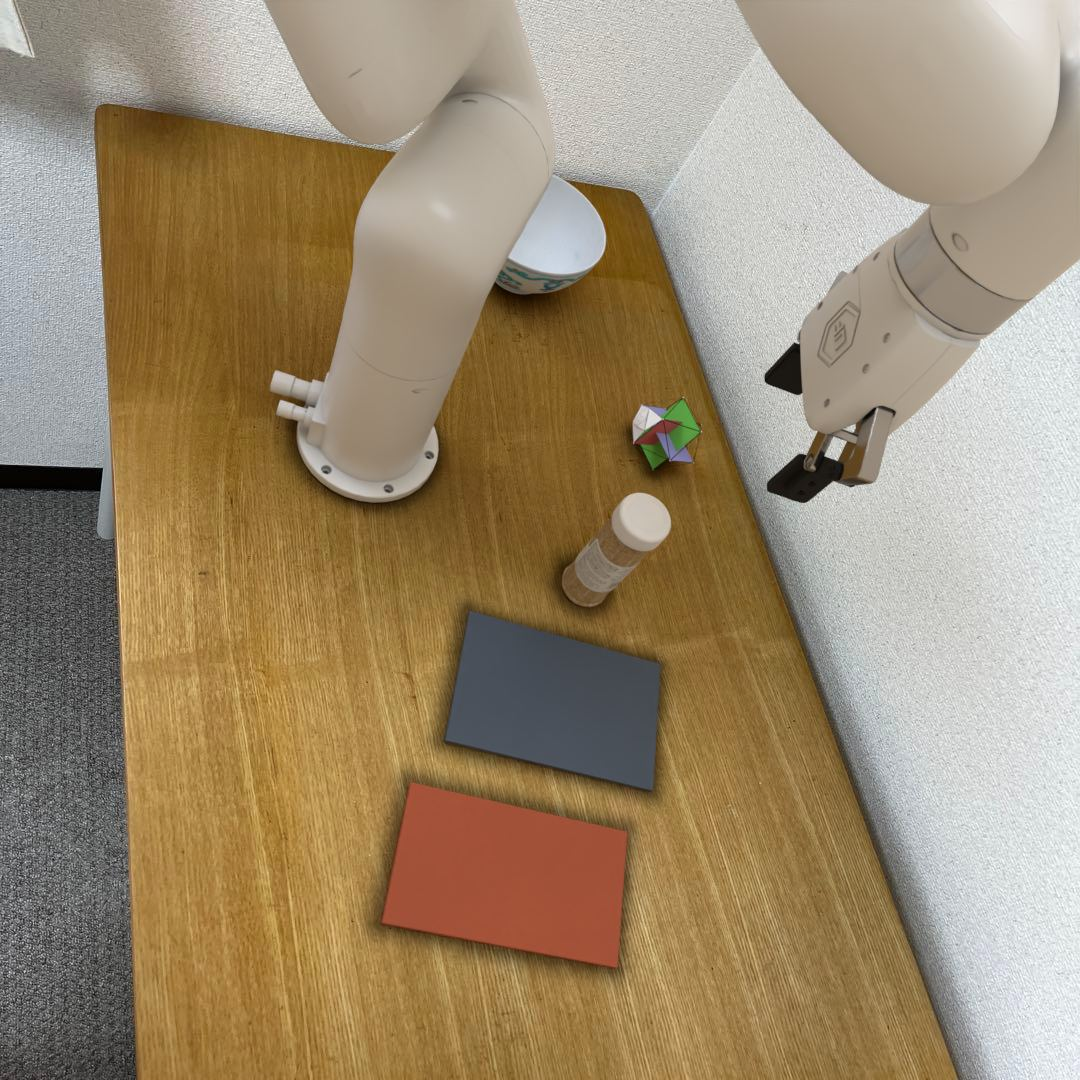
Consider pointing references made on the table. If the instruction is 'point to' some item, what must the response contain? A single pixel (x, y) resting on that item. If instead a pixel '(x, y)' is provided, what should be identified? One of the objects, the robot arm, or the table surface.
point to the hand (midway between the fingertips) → (782, 438)
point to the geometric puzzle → (665, 432)
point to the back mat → (555, 703)
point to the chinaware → (555, 243)
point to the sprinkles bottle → (616, 549)
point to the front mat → (507, 877)
